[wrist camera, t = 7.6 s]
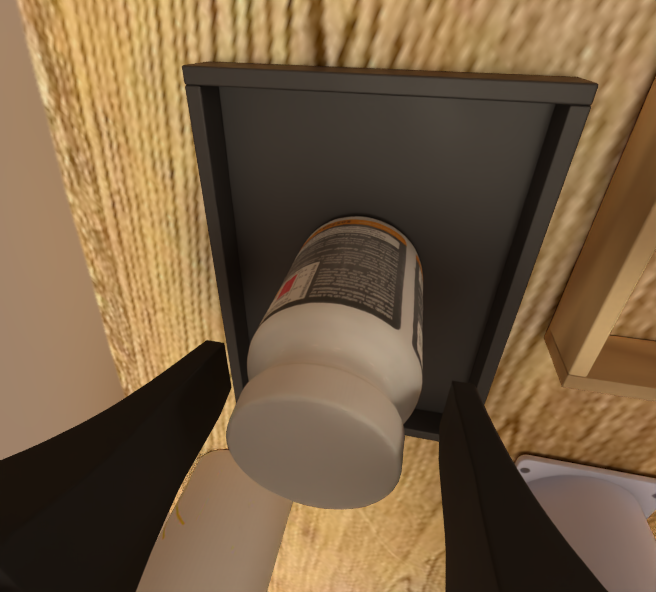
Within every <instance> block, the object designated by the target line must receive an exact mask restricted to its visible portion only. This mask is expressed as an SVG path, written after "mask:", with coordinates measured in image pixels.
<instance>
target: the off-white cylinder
mask: <svg viewBox="0 0 656 592" xmlns="http://www.w3.org/2000/svg"><path fill="white" fill-rule="evenodd" d="M292 503H293V501H291V500H288V499H286V498H283V497H281V496H279V495H277V494H275V493H273V492H271V491H269V490H267V489H265V488H264V487H262V486H260V485H259V484H258V483H256V482H255V481H254V480H252V479H251V478H250V477H249V476H248V475H247V474H246V473H244V472H243V471H242V469H241V468H240V467H239V466H238V465H237V463H236V462H235V460H234V459H233V457H232V455H231V453H230V451H229V450H216V451H212V452H209V453H207V454H205V455H204V456H202V457H201V459H200V460H199V462H198V464H197V466H196V468H195V469H194V471H193V473H192V475H191V477H190V479H189V481H188V483H187V485H186V486H185V488H184V490H183V492H182V494H181V496H180V498H179V500H178V501H177V503H176V505H175V507H174V509H173V511H172V513H171V515H170V517H169V519H168V520H167V522H166V524H165V526H164V528H163V530H162V532H161V533H160V536H159V537H158V539H157V541H156V543H155V545H154V547H153V550H152V552H151V554H150V557H149V560H148V562H147V565H146V567H145V570H144V572H143V575H142V577H141V580H140V582H139V585H138V588H137V590H136V592H267V590H268V586H269V583H270V579H271V576H272V572H273V569H274V565H275V562H276V558H277V555H278V552H279V548H280V545H281V541H282V538H283V534H284V531H285V527H286V524H287V520H288V517H289V513H290V510H291V506H292Z"/></svg>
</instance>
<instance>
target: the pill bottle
mask: <svg viewBox="0 0 656 592" xmlns="http://www.w3.org/2000/svg"><path fill="white" fill-rule="evenodd" d="M422 326H423V273H422V266H421V263H420V260H419V257H418V254H417V252H416V250H415V248H414V246H413V245H412V244H411V242H410V241H409V240H408V239H407V238H406V237H405V236H404V235H403V234H402V233H401V232H400V231H398V230H397V229H396V228H394V227H393V226H391V225H389V224H386V223H384V222H382V221H379V220H376V219H373V218H369V217H360V216H355V217H345V218H339V219H335V220H333V221H330V222H328V223H326V224H324V225H323V226H321V227H320V228H318V229H317V230H316V231H315V232H314V233H313V234H312V235H311V236H310V237H309V238H308V239H307V241H306V242H305V243H304V245H303V247H302V248H301V250H300V252H299V254H298V255H297V257H296V258H295V261H294V263H293V264H292V266H291V268H290V270H289V272H288V274H287V276H286V278H285V279H284V282H283V283H282V285H281V287H280V289H279V291H278V293H277V295H276V297H275V298H274V300H273V302H272V304H271V305H270V307H269V309H268V311H267V313H266V314H265V316H264V318H263V320H262V321H261V323H260V325H259V327H258V329H257V330H256V332H255V334H254V336H253V338H252V341H251V343H250V347H249V352H248V357H247V373H248V379H249V382H248V383H247V385H246V386H245V387H244V389H243V390H242V392H241V394H240V397H239V399H238V401H237V403H236V406H235V408H234V410H233V413H232V415H231V417H230V420H229V423H228V426H227V431H226V440H227V445H228V448H229V451H230V453H231V455H232V457H233V459H234V460H235V462H236V463H237V465H238V466H239V467H240V468H241V469H242V471H243V472H244V473H246V474H247V475H248V476H249V477H250V478H251V479H252V480H254V481H255V482H256V483H258V484H259V485H260V486H262V487H264V488H265V489H267V490H269V491H271V492H273V493H275V494H277V495H279V496H281V497H283V498H286V499H288V500H291V501H294V502H297V503H300V504H303V505H307V506H313V507H317V508H324V509H353V508H361V507H365V506H368V505H371V504H373V503H376V502H378V501H380V500H382V499H383V498H385V497H386V496H387V495H389V494H390V493H391V492H392V491H393V489H394V488H395V486H396V485H397V483H398V482H399V479H400V475H401V471H402V462H403V449H404V440H405V431H404V426H403V424H404V423H405V422H406V421H407V419H408V418H409V417H410V415H411V414H412V412H413V411H414V409H415V407H416V405H417V402H418V399H419V396H420V393H421V389H422V381H423V377H422Z"/></svg>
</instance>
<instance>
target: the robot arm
mask: <svg viewBox="0 0 656 592" xmlns="http://www.w3.org/2000/svg"><path fill="white" fill-rule="evenodd" d="M230 390H231V381H230V375H229V369H228V363H227V357H226V351H225V345H224V343H221V342H215V341H209V340H206V341H205V342H204V343H202V344H201V345H199V346H198V347H197V348H195V349H194V350H193V351H191V352H190V353H189V354H187V355H186V356H185V357H183V358H182V359H181V360H179V361H178V362H177V363H175V364H174V365H172V366H171V367H170V368H168V369H167V370H166V371H164V372H163V373H161V374H160V375H159V376H157V377H156V378H154V379H153V380H152V381H150V382H149V383H147V384H146V385H144V386H143V387H141V388H140V389H138V390H137V391H135V392H134V393H132V394H131V395H129V396H127V397H126V398H124V399H123V400H121V401H120V402H118V403H117V404H115V405H113V406H112V407H110V408H108V409H107V410H105V411H103V412H101V413H99V414H98V415H96V416H94V417H92V418H90V419H89V420H87V421H85V422H83V423H81V424H79V425H77V426H75V427H73V428H71V429H69V430H67V431H65V432H63V433H61V434H59V435H57V436H55V437H53V438H51V439H49V440H47V441H45V442H42V443H40V444H38V445H36V446H33V447H31V448H29V449H27V450H25V451H22V452H20V453H17V454H15V455H12V456H10V457H8V458H5V459H3V460H0V592H136V590H137V588H138V585H139V582H140V580H141V577H142V575H143V572H144V570H145V567H146V565H147V562H148V560H149V557H150V554H151V552H152V550H153V547H154V545H155V542H156V540H157V537H158V535H159V533H160V530H161V528H162V526H163V523H164V521H165V519H166V517H167V514H168V512H169V510H170V508H171V505H172V503H173V501H174V499H175V497H176V494H177V492H178V490H179V488H180V486H181V484H182V482H183V480H184V478H185V477H186V475H187V473H188V471H189V469H190V468H191V466H192V464H193V462H194V461H195V459H196V457H197V455H198V454H199V452H200V450H201V448H202V447H203V445H204V443H205V441H206V440H207V438H208V436H209V434H210V433H211V431H212V429H213V427H214V425H215V424H216V422H217V420H218V418H219V416H220V414H221V412H222V410H223V407H224V405H225V403H226V400H227V397H228V395H229V392H230ZM439 470H440V482H441V494H442V506H443V518H444V529H445V546H446V592H656V540H655V538H654V536H653V533H652V531H651V529H650V527H649V524H648V522H647V520H646V519H647V518H648V517H649V516H650V515H651V514H652V513H653V512H654V511H655V510H656V478H650V477H645V476H640V475H634V474H629V473H623V472H618V471H613V470H607V469H602V468H597V467H591V466H586V465H580V464H575V463H570V462H564V461H559V460H554V459H548V458H543V457H537V456H532V455H521V456H519V457H518V458H517V460H516V462H515V464H514V462H513V460H512V459H511V457H510V455H509V453H508V452H507V450H506V448H505V446H504V444H503V442H502V441H501V439H500V437H499V435H498V433H497V431H496V429H495V427H494V425H493V423H492V421H491V419H490V417H489V415H488V413H487V411H486V409H485V406H484V404H483V402H482V400H481V397H480V395H479V393H478V390H477V388H476V386H475V385H474V384H471V383H465V382H459V381H452V382H451V386H450V390H449V393H448V397H447V401H446V404H445V408H444V411H443V415H442V419H441V422H440V429H439Z"/></svg>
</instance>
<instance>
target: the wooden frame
mask: <svg viewBox="0 0 656 592" xmlns="http://www.w3.org/2000/svg"><path fill="white" fill-rule="evenodd" d="M655 250H656V77H655V79H654V82H653V84H652V86H651V89H650V91H649V93H648V96H647V98H646V100H645V103H644V105H643V107H642V110H641V112H640V115H639V117H638V119H637V122H636V124H635V126H634V129H633V131H632V133H631V136H630V138H629V140H628V143H627V145H626V147H625V150H624V152H623V154H622V157H621V159H620V161H619V164H618V166H617V169H616V171H615V173H614V176H613V178H612V180H611V183H610V185H609V187H608V190H607V192H606V194H605V197H604V199H603V201H602V204H601V206H600V208H599V211H598V213H597V215H596V218H595V220H594V223H593V225H592V227H591V230H590V232H589V234H588V237H587V239H586V241H585V244H584V246H583V248H582V251H581V253H580V255H579V258H578V260H577V262H576V265H575V267H574V269H573V272H572V274H571V277H570V279H569V281H568V284H567V286H566V288H565V291H564V293H563V295H562V298H561V300H560V302H559V305H558V307H557V309H556V312H555V314H554V316H553V319H552V321H551V323H550V326H549V327H548V330H547V332H546V334H545V337H544V340H545V342H546V345H547V348H548V350H549V353H550V356H551V358H552V361H553V364H554V366H555V369H556V372H557V375H558V377H559V380H560V383H561V385H562V387H565V388H571V389H578V390H584V391H590V392H597V393H603V394H609V395H616V396H622V397H628V398H635V399H641V400H647V401H653V402H656V342H655V341H648V340H641V339H633V338H626V337H619V336H611V335H609V334H610V332H611V331H612V329H613V327H614V325H615V323H616V321H617V320H618V318H619V316H620V314H621V312H622V310H623V309H624V307H625V305H626V303H627V301H628V299H629V297H630V296H631V294H632V292H633V290H634V288H635V286H636V285H637V283H638V281H639V279H640V277H641V275H642V273H643V272H644V270H645V268H646V266H647V264H648V262H649V261H650V259H651V257H652V255H653V253H654V251H655Z"/></svg>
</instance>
